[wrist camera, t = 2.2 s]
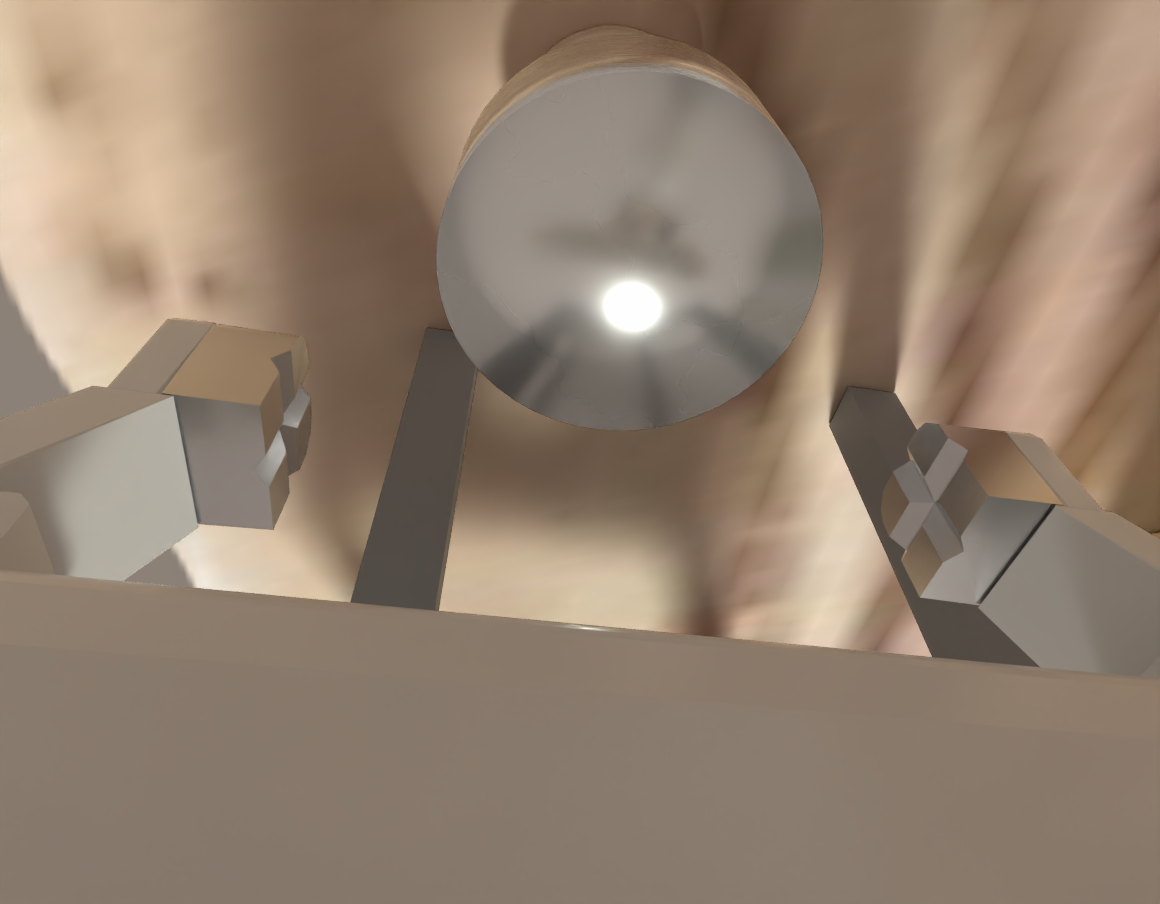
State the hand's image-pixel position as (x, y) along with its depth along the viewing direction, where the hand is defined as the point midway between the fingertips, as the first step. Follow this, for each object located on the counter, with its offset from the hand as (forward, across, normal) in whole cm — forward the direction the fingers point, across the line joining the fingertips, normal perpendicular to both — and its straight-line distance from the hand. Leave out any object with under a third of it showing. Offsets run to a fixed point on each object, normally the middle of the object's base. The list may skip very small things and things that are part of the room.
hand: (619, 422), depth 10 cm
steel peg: (+10, 0, -1) cm, 10 cm away
